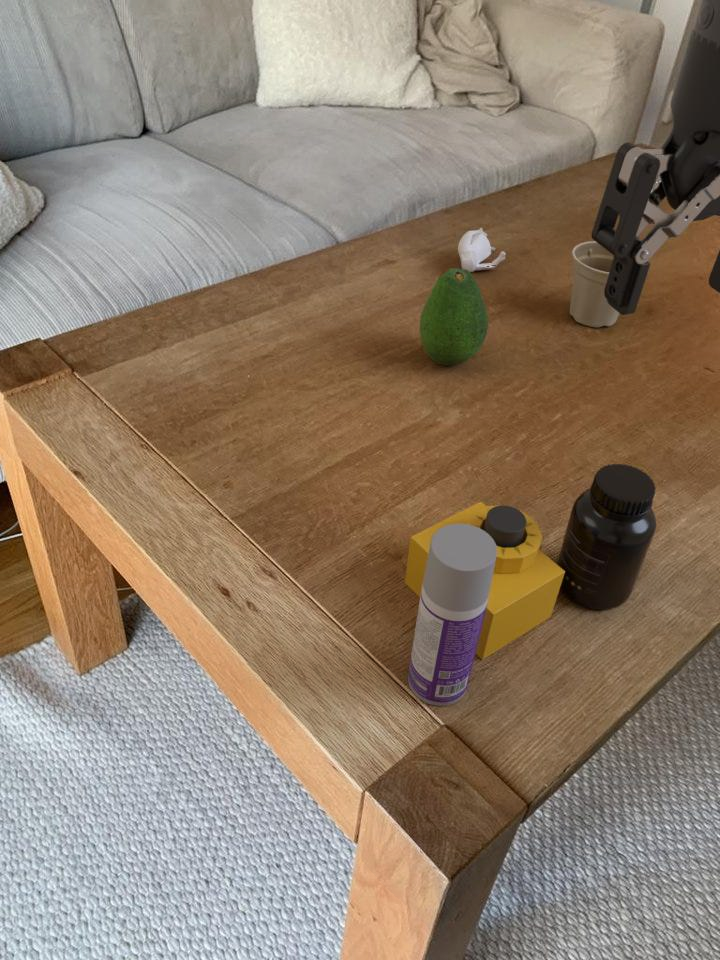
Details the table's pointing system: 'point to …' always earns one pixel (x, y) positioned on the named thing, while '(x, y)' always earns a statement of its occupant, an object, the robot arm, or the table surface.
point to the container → (451, 612)
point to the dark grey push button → (505, 526)
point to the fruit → (454, 319)
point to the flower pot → (591, 285)
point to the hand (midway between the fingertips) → (671, 299)
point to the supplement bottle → (608, 537)
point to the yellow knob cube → (500, 580)
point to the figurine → (476, 251)
